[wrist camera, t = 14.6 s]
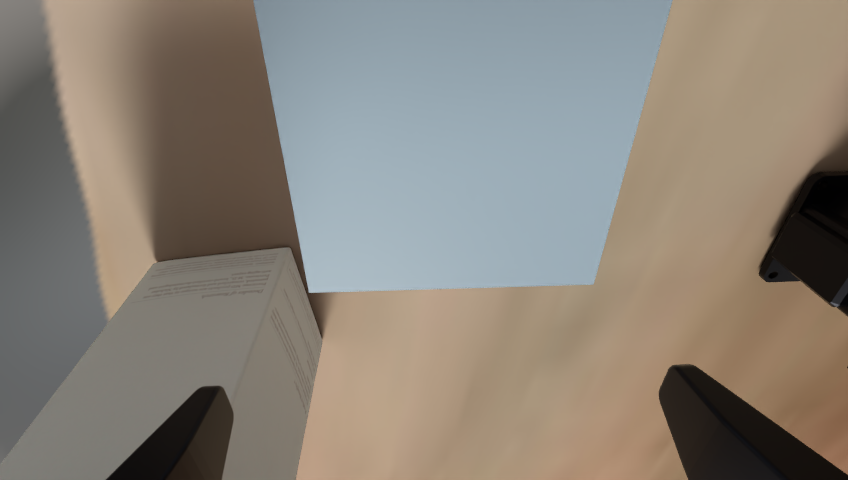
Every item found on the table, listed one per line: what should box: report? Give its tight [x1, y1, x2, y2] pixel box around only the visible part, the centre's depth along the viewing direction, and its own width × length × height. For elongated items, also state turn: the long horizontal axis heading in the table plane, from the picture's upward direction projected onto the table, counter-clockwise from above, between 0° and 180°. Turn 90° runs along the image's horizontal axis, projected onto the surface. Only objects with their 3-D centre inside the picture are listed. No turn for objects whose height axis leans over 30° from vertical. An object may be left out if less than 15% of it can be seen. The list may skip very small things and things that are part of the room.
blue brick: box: [253, 0, 672, 293], centre depth 8 cm, size 5×5×4 cm
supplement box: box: [0, 247, 322, 480], centre depth 19 cm, size 7×7×13 cm
